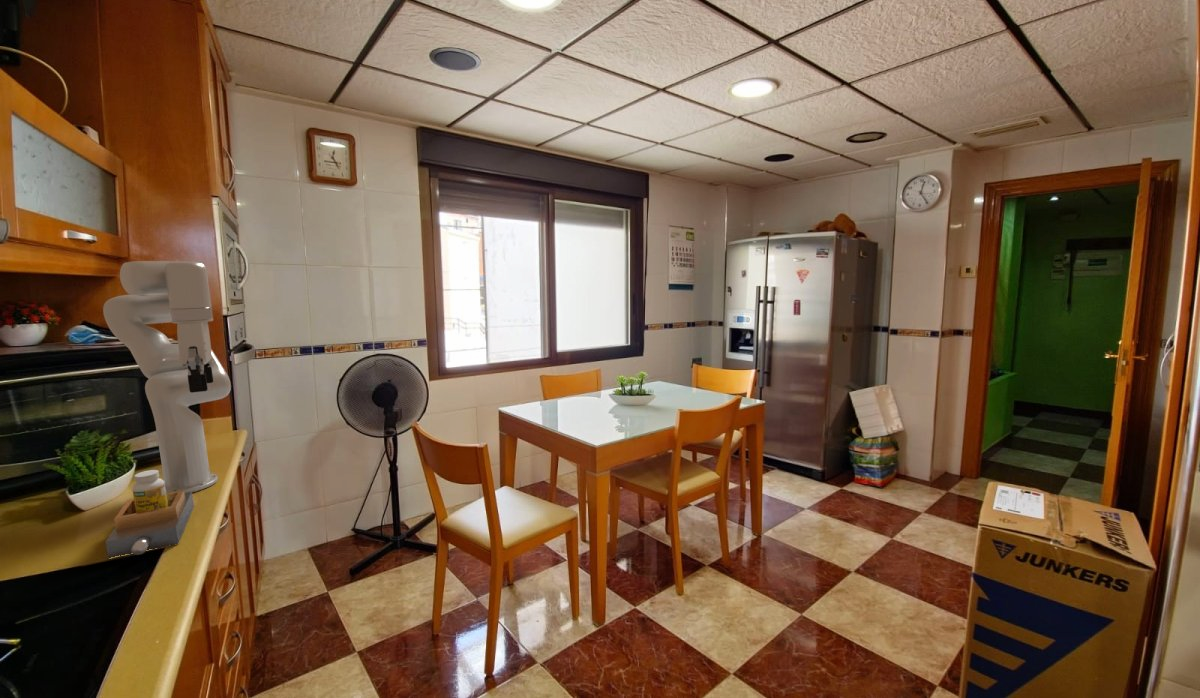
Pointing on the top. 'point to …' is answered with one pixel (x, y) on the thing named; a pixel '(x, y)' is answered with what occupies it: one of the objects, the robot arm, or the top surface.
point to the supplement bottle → (149, 491)
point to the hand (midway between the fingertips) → (202, 387)
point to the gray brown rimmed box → (150, 526)
